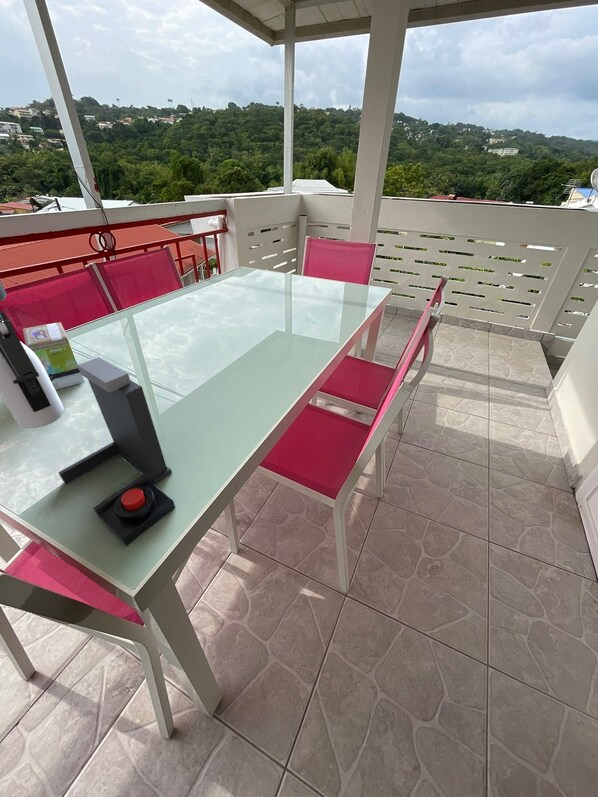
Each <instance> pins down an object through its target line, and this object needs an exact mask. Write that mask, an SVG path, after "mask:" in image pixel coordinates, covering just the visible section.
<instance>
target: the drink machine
mask: <svg viewBox="0 0 598 797" xmlns="http://www.w3.org/2000/svg"><path fill="white" fill-rule="evenodd" d="M77 366H78V368H79V371H80V373H81V375H82V376H83V378H85V379H87V380H88V381H87V382H88V383H89V385H90V388H91V391H92V393H93V396H94V398H95V400H96V403H97V405H98V408H99V410H100V412H101V415H102V417H103V419H104V422H105V424H106V427H107V429H108V432H109V434H110V436H111V439H112V442H110V443H108V444H107V445H105V446H103V447H101V448H99V449H98V450H96V451H94V452H93V453H90V454H89V455H87V456H85V457H83V458H82V459H80V460H77V461H76V462H74V463H72V464H71V465H69V466H67V467H65V468H64V469H62V470H60V471H58V475H59V477H60V478H61V480H62V481H63V483H64V484H65V485H68V484H70V483H71V482H73V481H75V480H76V479H78V478H80V477H82V476H84V475H85V474H87V473H88V472H90V471H92V470H93V469H95V468H97V467H99V466H101V465H102V464H104V463H106V462H107V461H109V460H111V459H112V458H114V457H116V456H119V457H120V458H121V459H123V460H124V461H125V462H127V463H128V464H129V465H130V466H132V468H134V469H135V470H136V471H138V472H139V473H141V474H142V475H140V476H139V477H137V478H136V479H133V481H131V482H130V483H128V484H126V485H124V487H122V488H121V489H119V490H117V491H115V492H114V493H113V494H111V495H110V496H109V497H107V498H106V499H104V500H102V501H100V502H99V503H98V504H96V505H94V506H93V507H92V509H93V510H94V512H95V515H96V516H97V518H98V519H99V520H100V521H102V520H101V518H100V516H99V514H101V513H102V512H103V511H105V510H106V509H108V508H109V507H111V506H112V505H114V504H115V502H116V500H117V499H118V497H119V496H120V495H121V494H123V493H124V492H126V491H127V490H129V489H132V488H136V487H140V486H141V485H143V484H144V483H146V482H147V481H150V482H151V483H152V484H153V485H158V484H159V483H160V482H161V481H163V480H164V479H166V478H167V477H168V476H170V475H171V474H173V472H172V469H171V468H170V467H169V466H167V464H166V460H165V457H164V454H163V451H162V448H161V444H160V441H159V437H158V435H157V432H156V428H155V425H154V422H153V418H152V415H151V412H150V409H149V405H148V402H147V399H146V396H145V392H144V389H143V386H142V385H140V384H138V383H136V382H135V381H133V380H131V378H130V375H129V373H128V372H127V371H125V370H123V369H121V368H119V367H117V366H116V365H114V364H112V363H110V362H108V361H107V360H105V359H103V358H101V357H100V356H99V357H96V358H93V359H90V360H87V361H85V362H82V363H78V365H77Z"/></svg>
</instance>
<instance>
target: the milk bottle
mask: <svg viewBox="0 0 598 797" xmlns="http://www.w3.org/2000/svg"><path fill="white" fill-rule="evenodd" d="M20 342H21V344H22V346H23V348H24V349H25V351H26V353H27V355H28V357H29V358H30V360H31V362H32V364H33V366H34V367H35V369H36V371H37V372H38V373H39V377H37V379H38V381H39V383H40V385H41V387H42V389H43V391H44V393H45V395H46V396H47V398H48V400H49V402H50V404H51V406H49V407H46V408H44V409H42V410H39V411H37V412H34V411H33V410H32V408H31V406H30V405H29V403H28V401H27V399H26V398H25V396H24V394H23V392H22V390H21V389H20V387H19V385H18V383H17V384H14V383H13V382H12V381H14V380H17V379H16V376H15V375H14V373H13V372H12V370H11V369H10V367H9V365H8V364H7V362H6V361H5V359H4V358H3V356H2V355H1V353H0V397H1V399H2V401H3V402H4V404H5V406H6V407H7V410H9V412H10V414H11V416H12V417H13V419H14V420H15V422H16V423H17V425H18V426H20V427H22V428H24V429H38V428H42V427H45V426H48V425H51V424H53V423H54V422H56V421H58V420H59V419H60V418H61V417H62V416H63V415H64V412H65V407H64V405H63V403H62V401H61V399H60V397H59V394H58V392H57V391H56V390H55V389H54V387H53V385H52V383H51V381H50V379H49V377H48V375H47V373H46V371H45V369H44V367H43V365H42V363H41V362H40V360H39V358H38V357H37V356H36V354H35V353H34V352H33V351H32V350H31V349H29V348H28V347H27V346H26V344H25V343H23V342H22V341H20Z"/></svg>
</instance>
